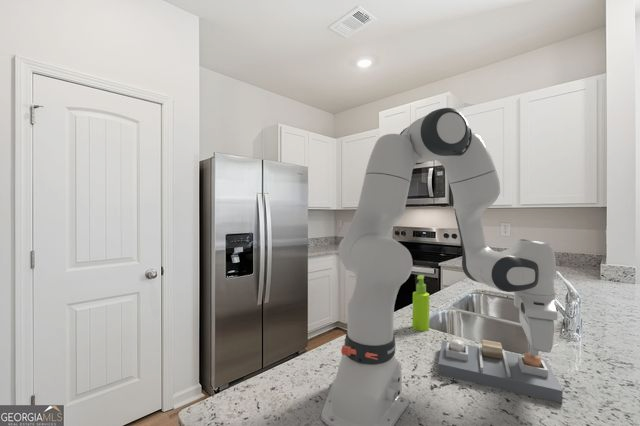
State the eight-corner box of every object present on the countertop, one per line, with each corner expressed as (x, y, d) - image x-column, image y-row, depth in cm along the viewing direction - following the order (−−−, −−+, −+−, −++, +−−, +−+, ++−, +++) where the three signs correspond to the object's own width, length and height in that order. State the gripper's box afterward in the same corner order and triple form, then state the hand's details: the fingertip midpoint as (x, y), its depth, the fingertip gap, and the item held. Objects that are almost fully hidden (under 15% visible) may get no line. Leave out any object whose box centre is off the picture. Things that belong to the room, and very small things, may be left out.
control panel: (562, 403, 70) (562, 383, 70) (438, 374, 82) (438, 357, 81) (545, 369, 84) (546, 353, 84) (442, 349, 96) (442, 334, 96)
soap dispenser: (410, 330, 110) (411, 276, 110) (414, 323, 117) (414, 272, 116) (427, 333, 108) (427, 278, 107) (429, 326, 114) (430, 274, 113)
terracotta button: (542, 369, 76) (542, 360, 76) (525, 365, 78) (525, 357, 78) (539, 362, 80) (539, 354, 80) (523, 359, 81) (523, 351, 81)
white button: (464, 353, 84) (464, 345, 84) (450, 350, 86) (450, 343, 86) (464, 348, 87) (464, 340, 87) (450, 345, 89) (450, 338, 89)
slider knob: (502, 359, 84) (502, 348, 83) (482, 355, 86) (482, 345, 86) (500, 353, 87) (500, 342, 87) (482, 349, 89) (482, 339, 89)
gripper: (513, 289, 89) (513, 335, 90) (526, 312, 71) (525, 369, 71) (539, 292, 86) (538, 339, 87) (559, 316, 68) (558, 376, 68)
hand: (533, 353), depth 79 cm, fingers closed
